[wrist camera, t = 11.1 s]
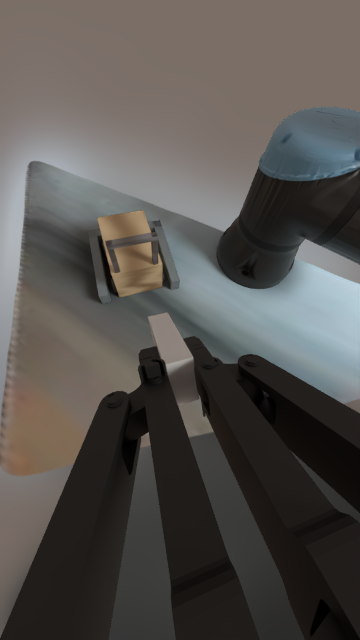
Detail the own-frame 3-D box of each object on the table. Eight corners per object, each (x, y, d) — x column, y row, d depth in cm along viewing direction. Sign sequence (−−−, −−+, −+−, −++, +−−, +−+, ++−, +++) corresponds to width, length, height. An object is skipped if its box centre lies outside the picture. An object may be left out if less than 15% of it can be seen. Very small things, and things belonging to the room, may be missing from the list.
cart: (148, 238, 45) (144, 176, 33) (165, 286, 41) (167, 235, 29) (103, 246, 44) (81, 184, 32) (116, 298, 39) (96, 249, 28)
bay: (159, 229, 46) (159, 220, 44) (178, 287, 41) (179, 280, 39) (91, 240, 44) (87, 231, 41) (102, 303, 39) (98, 296, 36)
